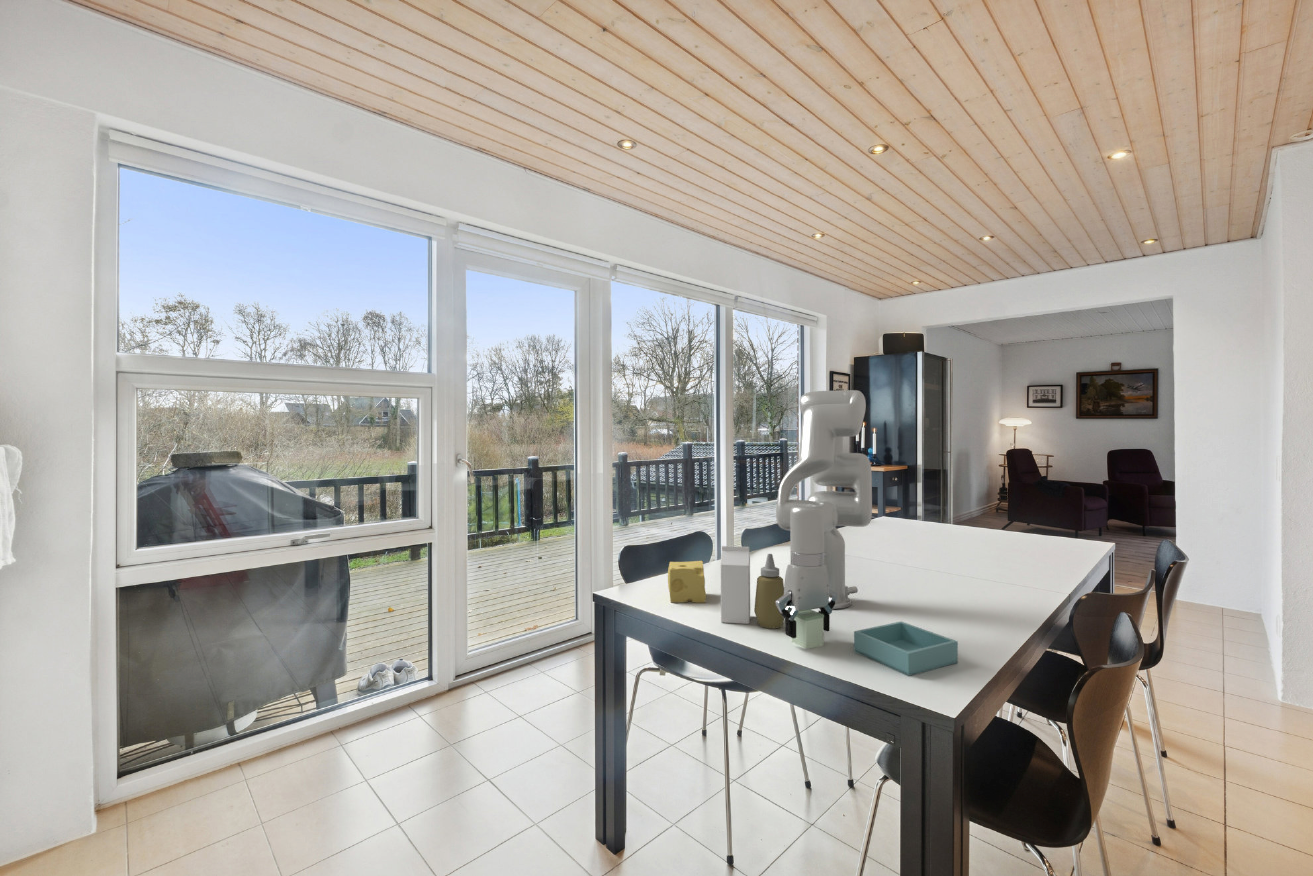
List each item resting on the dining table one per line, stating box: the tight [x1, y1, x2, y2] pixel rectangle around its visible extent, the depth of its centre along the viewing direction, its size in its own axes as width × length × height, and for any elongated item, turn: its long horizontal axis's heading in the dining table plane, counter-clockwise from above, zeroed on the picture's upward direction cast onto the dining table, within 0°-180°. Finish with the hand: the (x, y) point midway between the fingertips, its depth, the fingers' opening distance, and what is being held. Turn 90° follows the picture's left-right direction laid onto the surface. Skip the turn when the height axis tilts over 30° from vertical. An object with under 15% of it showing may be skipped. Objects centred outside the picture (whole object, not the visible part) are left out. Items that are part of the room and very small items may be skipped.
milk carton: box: [720, 545, 751, 625], centre depth 153 cm, size 7×7×19 cm
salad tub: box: [791, 609, 825, 650], centre depth 136 cm, size 5×5×7 cm
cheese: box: [667, 560, 707, 604], centre depth 173 cm, size 10×11×10 cm
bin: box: [853, 621, 959, 677], centre depth 127 cm, size 15×15×4 cm
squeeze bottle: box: [753, 553, 787, 629], centre depth 148 cm, size 8×8×18 cm
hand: (807, 633), depth 136 cm, fingers open, 9 cm apart
